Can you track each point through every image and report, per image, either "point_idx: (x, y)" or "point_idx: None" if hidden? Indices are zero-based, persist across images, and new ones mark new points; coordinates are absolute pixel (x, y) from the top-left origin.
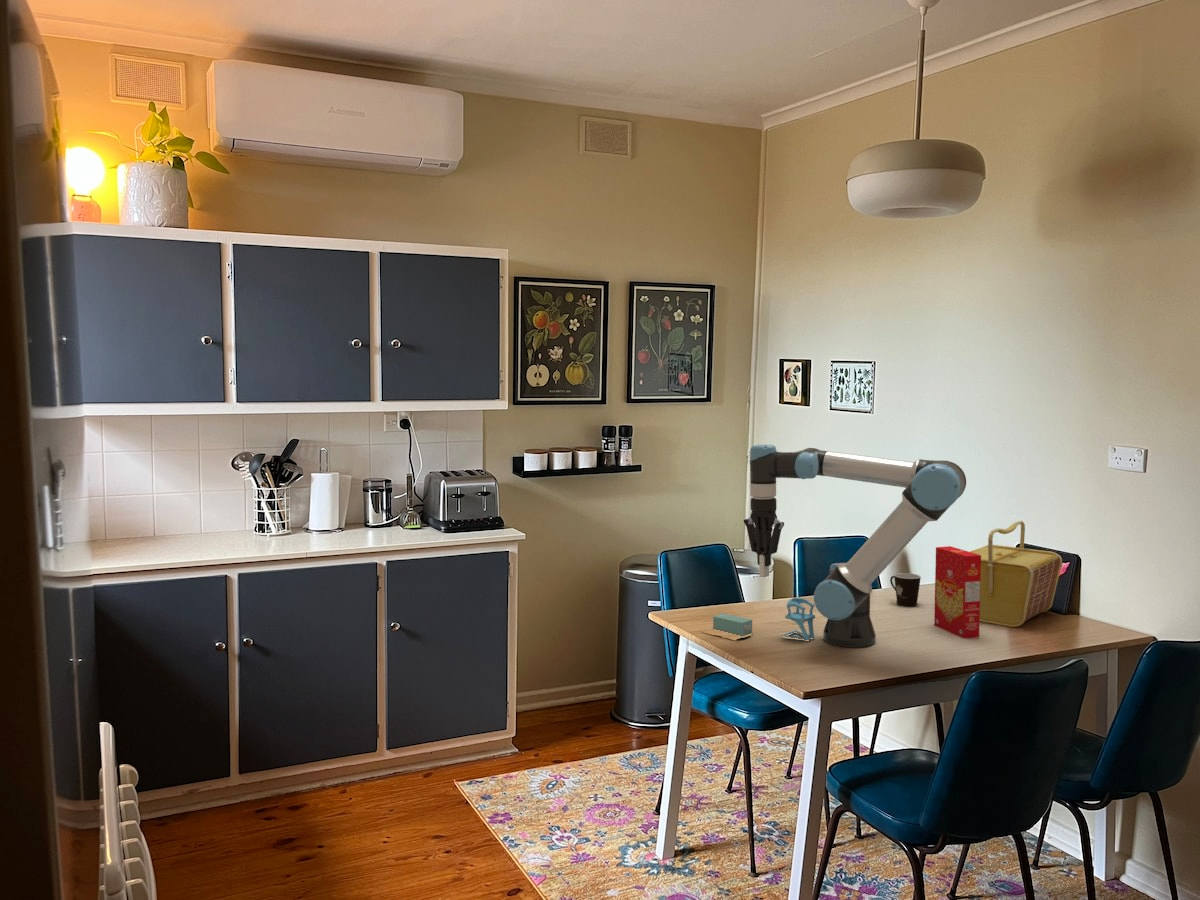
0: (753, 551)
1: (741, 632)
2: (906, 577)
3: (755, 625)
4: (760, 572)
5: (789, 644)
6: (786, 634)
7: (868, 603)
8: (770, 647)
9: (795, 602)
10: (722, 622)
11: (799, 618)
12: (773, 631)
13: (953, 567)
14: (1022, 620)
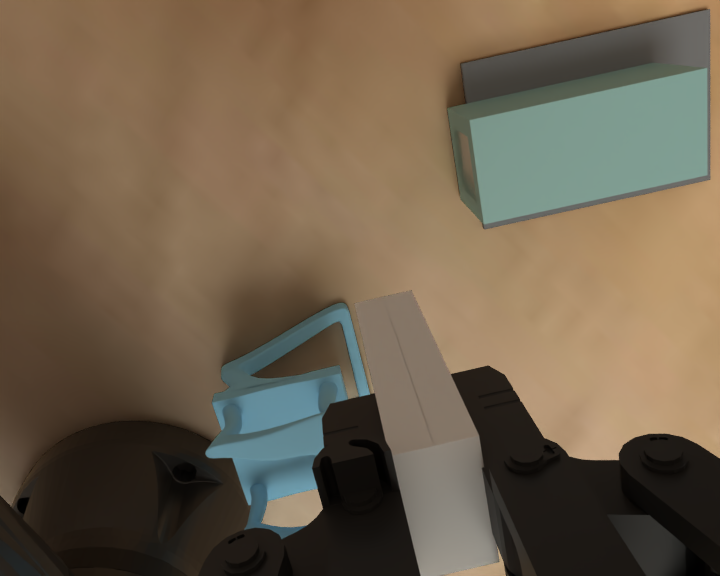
0: (632, 440)
1: (462, 111)
2: None
3: (589, 346)
4: (408, 315)
5: (243, 264)
6: (346, 339)
7: None
8: (256, 145)
9: (278, 453)
10: (618, 82)
11: (244, 397)
12: (458, 348)
13: None
14: None
